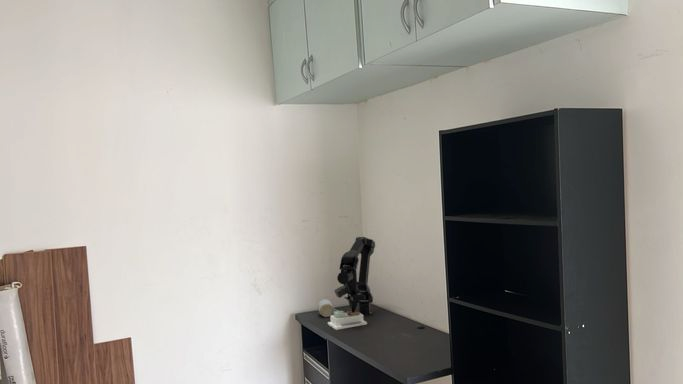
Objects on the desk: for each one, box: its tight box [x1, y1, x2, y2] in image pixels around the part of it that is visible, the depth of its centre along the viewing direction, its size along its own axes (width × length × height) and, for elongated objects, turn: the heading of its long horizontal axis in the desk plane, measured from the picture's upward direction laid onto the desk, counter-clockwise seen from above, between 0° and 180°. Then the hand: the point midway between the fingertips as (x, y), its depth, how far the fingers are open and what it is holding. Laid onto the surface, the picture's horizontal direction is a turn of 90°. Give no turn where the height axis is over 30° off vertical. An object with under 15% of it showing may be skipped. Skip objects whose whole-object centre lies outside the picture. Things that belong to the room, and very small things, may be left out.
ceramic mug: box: [317, 298, 339, 318], centre depth 282 cm, size 11×8×8 cm
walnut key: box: [346, 309, 359, 316], centre depth 266 cm, size 4×4×3 cm
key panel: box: [327, 312, 368, 331], centre depth 263 cm, size 11×16×4 cm
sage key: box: [333, 310, 347, 318], centre depth 264 cm, size 4×4×3 cm
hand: (353, 311), depth 266 cm, fingers closed, pressing on walnut key
